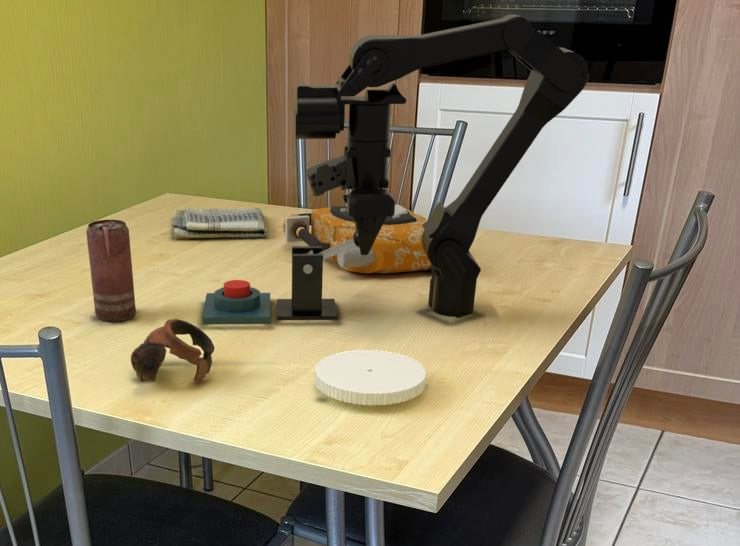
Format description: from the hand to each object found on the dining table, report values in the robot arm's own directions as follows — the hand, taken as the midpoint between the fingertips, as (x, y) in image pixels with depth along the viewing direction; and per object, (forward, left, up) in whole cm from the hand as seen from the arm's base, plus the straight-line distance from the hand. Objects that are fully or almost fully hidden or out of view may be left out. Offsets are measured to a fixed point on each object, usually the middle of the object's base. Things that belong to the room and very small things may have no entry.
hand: (363, 251), depth 136 cm
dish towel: (+55, -9, -10) cm, 57 cm away
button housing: (+11, +15, -10) cm, 21 cm away
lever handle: (+2, +3, -1) cm, 4 cm away
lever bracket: (+5, +7, -10) cm, 13 cm away
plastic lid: (-22, +17, -10) cm, 29 cm away
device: (+22, -18, -10) cm, 30 cm away
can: (+21, +31, -10) cm, 39 cm away
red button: (+11, +15, -6) cm, 20 cm away
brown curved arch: (-4, +36, -10) cm, 37 cm away
